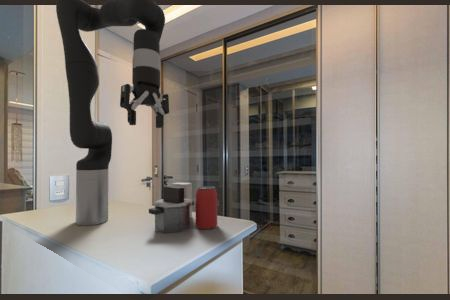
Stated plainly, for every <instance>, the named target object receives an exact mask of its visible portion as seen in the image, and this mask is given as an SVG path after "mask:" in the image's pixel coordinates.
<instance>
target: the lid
mask: <svg viewBox="0 0 450 300" xmlns="http://www.w3.org/2000/svg"><path fill="white" fill-rule="evenodd" d="M162 188H163V191H162V193H163V194H162V195H163V196H162V199H158V200H156V201H154V202H153V206H154V208H155V207H157V208H165V209H172V208H182V207H187V206H190V205H192V201H193V199H192V200H191V199H187V198H184V187H176V186H172V185H164V186H163V187H162ZM192 206H193V205H192Z"/></svg>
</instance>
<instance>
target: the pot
mask: <svg viewBox="0 0 450 300" xmlns="http://www.w3.org/2000/svg"><path fill="white" fill-rule="evenodd" d="M194 205H195V201H194V200H192V205H190V206H192V207H193V206H194ZM190 206H187V207H182V208H172V209H165V208H157V207H155V206H154V207H151V208H148V214H151V215H154V231H156V232H159V233H162V234H173V233H174V234H175V233H177V234H179V233H181V232H185V231H186V230H187V231H188V230H190V229H191V228H190V226H191V217H190Z"/></svg>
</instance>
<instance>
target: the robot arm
mask: <svg viewBox="0 0 450 300" xmlns="http://www.w3.org/2000/svg"><path fill="white" fill-rule="evenodd" d="M55 8H56V9H55V12H56V17H57V22H58V27H59V30H60V35H61V40H62V45H63V55H64V66H65V76H66V81H67V82H66V83H67V89H68V100H69V101H68V103H69V136H70V141H71V143H72V144H73V145H74V146H75V147H76V148H78V149H86V150H87V149H88V151H87V154H86V156H85V157H83V158H81V159H80V160H77V161H76V166H75V171H76V173H75V180H76V181H75V183H76V185H75V189H76V190H75V193H76V194H75V224H76V225H77V226H93V225H98V224H102V223H105V222H107V221H108V220H109V166H110V163H111V160H112V148H113V147H112V146H113V133H112V130H111V128H110V126H109V125H108V124H107V123H105V122H100V121H95V120H93V119H92V112H91V103H92V100H93V99H94V96H95V94H96V92H97V91H98V88H99V85H100V75H99V68H98V63H97V60H96V58H95V56H94V55H93V53H92V52H91V50H90V49H89V47H88V46H87V45H86V42H85V41H84V40H83V37H82V35H81V33H80V31H81V32H84V33H85V32H87V33H88V32H89V33H91V32H94V31H98V30H102V29H106V28H110V27H133V26H135V25H137V23H138V24H141V25H142V26H143V27H144V28H139V29H137V30H136V31H135V32H134V34H133V54H132V67H131V68H132V75H131V77H132V80H131V81H132V86H131V84H129V83H126V84H123V85H121V86H120V100H119V107H120V108H121V109H125V110H126V111H127V123H128V125H129V126H136V125H137V108H138V106H146V107H150V108H151V110H153V111H154V113H155V114H156V115H155V128H156V129H161V128H163V127H164V116H165V115H168V114H170V102H169V101H170V100H169V99H170V98H169V97H170V96H169V94H168V93H164V94H162V93H160V88H161V58H160V56H161V55H160V53H161V52H160V51H161V50H160V48H161V47H160V42H161V38H162V35H163V31H164V28H165V23H166V16H165V12H164V11H163V9H162V7H161V6H159V4H157V3H156V2H155V1H154V0H107V1H105V2H103V3H102V4H101V6H100V8H98V7H94V6H92V5H91V4H89V3H88V2H86V1H84V0H56V3H55ZM131 93H132V95H133V99H132V100H131V99H130V97H131Z"/></svg>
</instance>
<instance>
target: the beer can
mask: <svg viewBox="0 0 450 300" xmlns="http://www.w3.org/2000/svg"><path fill="white" fill-rule="evenodd" d="M195 192H196V193H195V227H197V228H198V229H200V230H211V229H214V228H216V227H218V191H217V189H216V186H213V185H203V186H202V185H201V186H198V187H197V190H196V191H195Z"/></svg>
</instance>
